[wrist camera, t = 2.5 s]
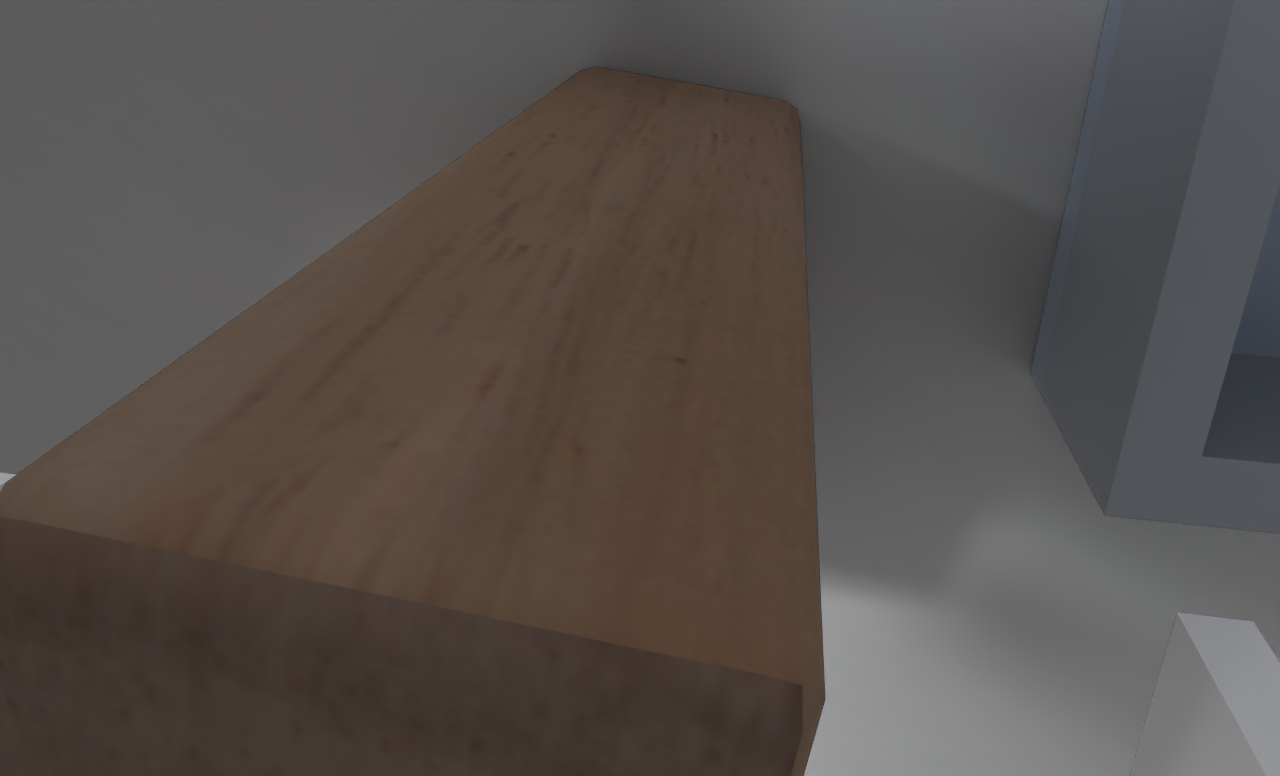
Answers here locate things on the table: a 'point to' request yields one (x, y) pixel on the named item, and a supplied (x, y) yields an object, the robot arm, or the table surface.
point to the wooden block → (460, 485)
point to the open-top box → (1173, 269)
